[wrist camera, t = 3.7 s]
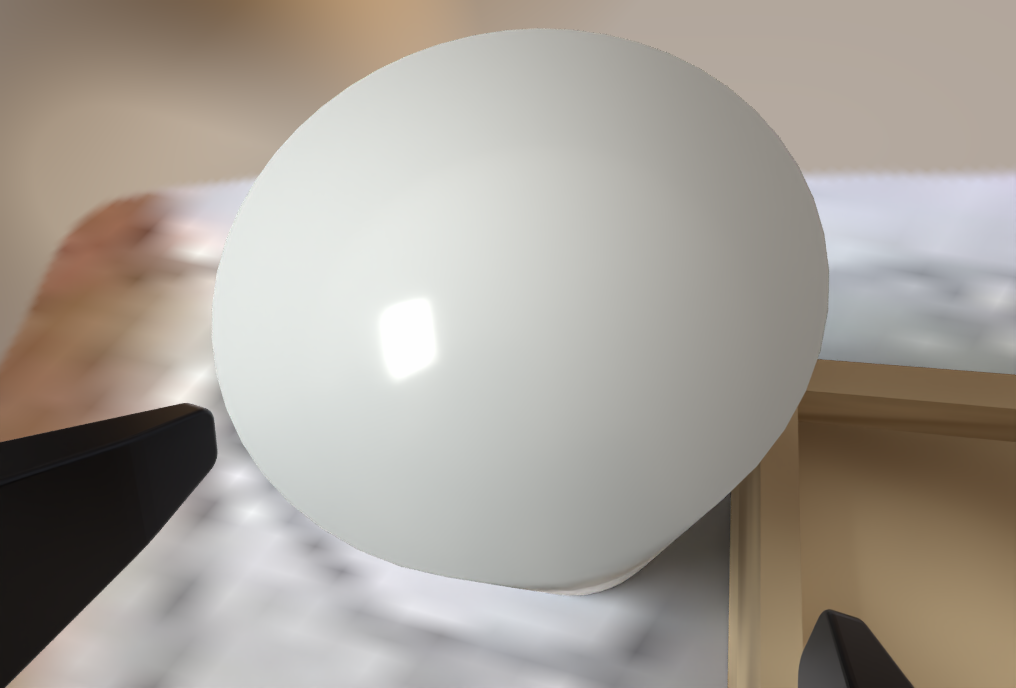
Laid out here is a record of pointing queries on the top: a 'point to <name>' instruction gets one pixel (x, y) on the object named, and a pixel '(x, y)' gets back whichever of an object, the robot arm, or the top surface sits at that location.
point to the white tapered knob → (521, 307)
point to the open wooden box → (882, 526)
